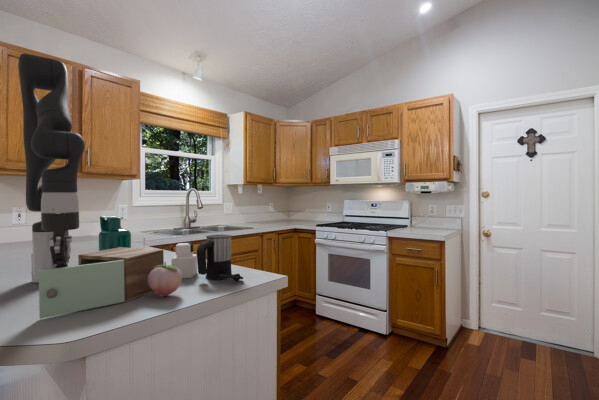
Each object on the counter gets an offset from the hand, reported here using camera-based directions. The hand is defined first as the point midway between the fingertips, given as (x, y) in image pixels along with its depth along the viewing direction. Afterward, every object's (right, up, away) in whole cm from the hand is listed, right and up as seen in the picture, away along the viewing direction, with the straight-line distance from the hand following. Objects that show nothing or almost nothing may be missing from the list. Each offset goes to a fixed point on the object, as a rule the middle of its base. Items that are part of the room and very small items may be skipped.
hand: (62, 279), depth 78 cm
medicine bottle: (+18, -8, +35) cm, 40 cm away
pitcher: (-7, -8, +33) cm, 35 cm away
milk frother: (+34, -8, +30) cm, 46 cm away
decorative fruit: (+21, -8, +12) cm, 26 cm away
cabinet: (+6, -8, +16) cm, 19 cm away
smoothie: (+3, -8, +34) cm, 35 cm away
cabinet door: (+6, -8, 0) cm, 10 cm away
